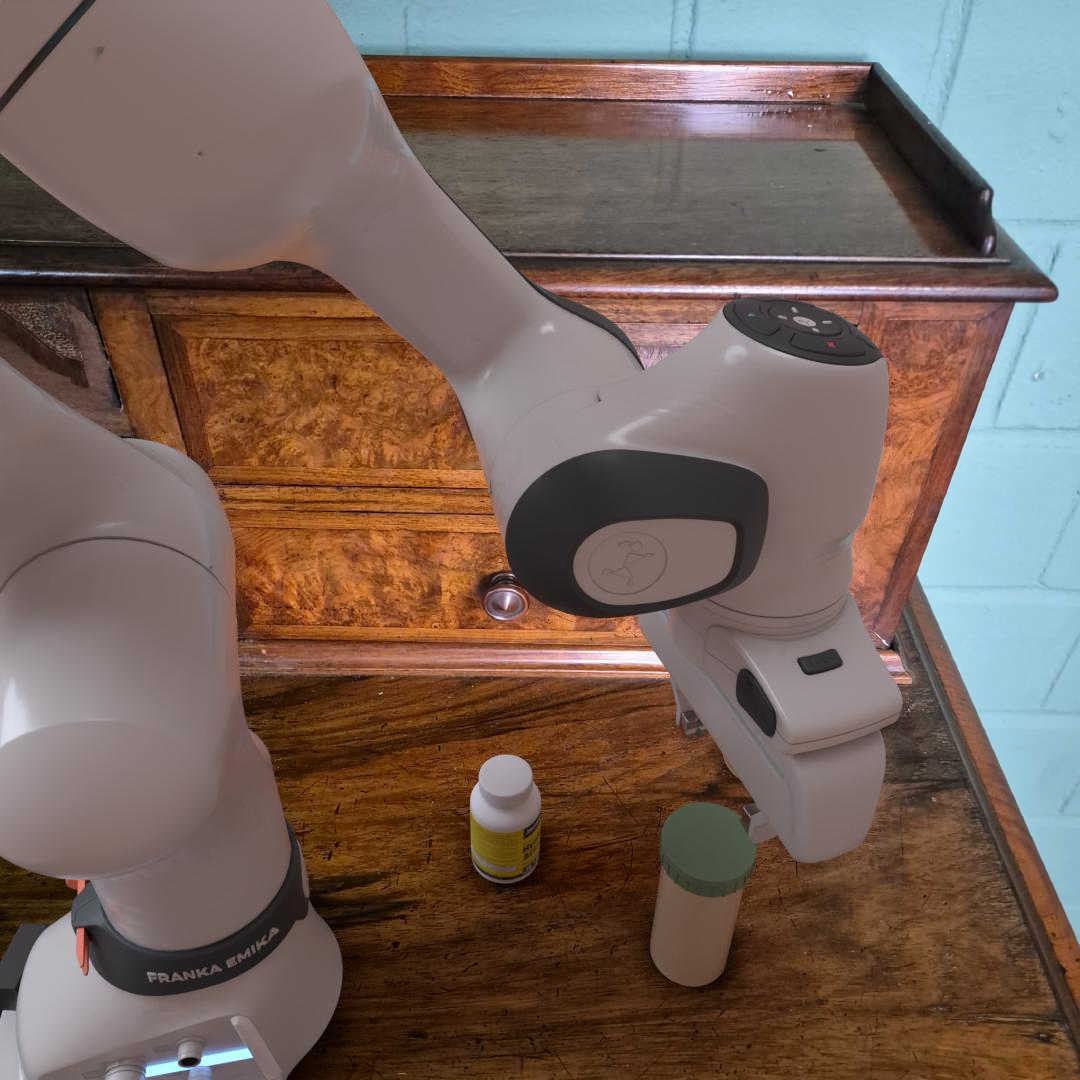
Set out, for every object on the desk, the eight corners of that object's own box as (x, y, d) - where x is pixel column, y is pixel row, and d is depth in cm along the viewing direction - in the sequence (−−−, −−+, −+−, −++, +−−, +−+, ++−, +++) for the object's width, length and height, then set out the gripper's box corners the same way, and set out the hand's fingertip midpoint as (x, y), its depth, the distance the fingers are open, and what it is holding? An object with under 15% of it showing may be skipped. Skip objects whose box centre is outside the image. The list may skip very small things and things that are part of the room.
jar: (670, 998, 66) (689, 894, 59) (637, 928, 70) (650, 823, 63) (741, 972, 68) (768, 867, 60) (704, 905, 72) (724, 800, 65)
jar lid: (685, 911, 59) (688, 895, 58) (642, 832, 64) (644, 816, 63) (772, 881, 61) (776, 865, 60) (724, 806, 66) (727, 790, 65)
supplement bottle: (532, 892, 73) (533, 810, 67) (464, 879, 74) (459, 797, 68) (546, 834, 77) (548, 752, 71) (481, 822, 78) (478, 741, 72)
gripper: (618, 510, 57) (608, 676, 65) (808, 761, 41) (764, 938, 49) (712, 490, 58) (691, 655, 67) (928, 724, 43) (866, 901, 51)
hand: (723, 777), depth 58 cm, fingers open, 7 cm apart
